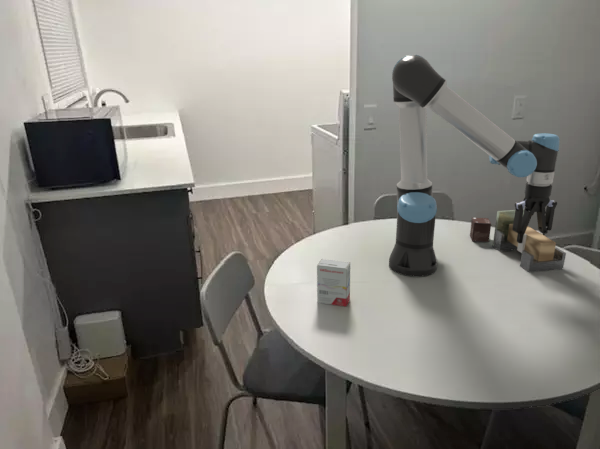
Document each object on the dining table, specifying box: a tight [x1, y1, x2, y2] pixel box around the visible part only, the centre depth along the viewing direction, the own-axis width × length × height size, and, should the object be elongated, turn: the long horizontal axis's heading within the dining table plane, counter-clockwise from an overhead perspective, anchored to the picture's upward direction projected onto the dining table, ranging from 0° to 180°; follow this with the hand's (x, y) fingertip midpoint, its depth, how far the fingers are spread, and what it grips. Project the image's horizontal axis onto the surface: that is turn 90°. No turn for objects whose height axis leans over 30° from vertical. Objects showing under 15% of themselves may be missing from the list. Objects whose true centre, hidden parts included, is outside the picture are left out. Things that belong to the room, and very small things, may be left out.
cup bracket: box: [492, 208, 525, 252], centre depth 163 cm, size 12×5×13 cm, turn 99°
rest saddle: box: [519, 247, 567, 273], centre depth 149 cm, size 12×4×6 cm, turn 99°
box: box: [469, 217, 492, 243], centre depth 172 cm, size 6×6×7 cm
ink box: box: [316, 258, 351, 307], centre depth 130 cm, size 9×5×12 cm, turn 71°
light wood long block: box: [507, 224, 557, 261], centre depth 154 cm, size 18×5×6 cm, turn 7°
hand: (528, 250), depth 156 cm, fingers closed on light wood long block, 5 cm apart
